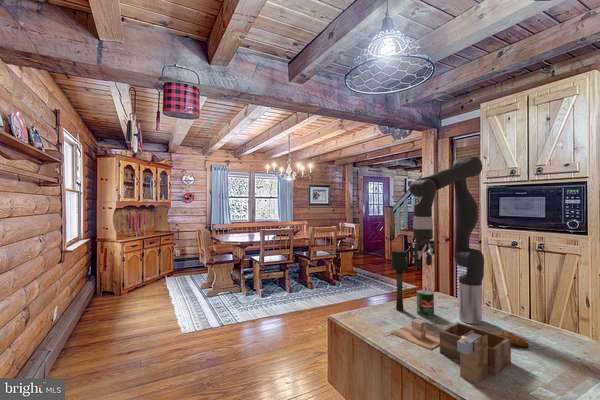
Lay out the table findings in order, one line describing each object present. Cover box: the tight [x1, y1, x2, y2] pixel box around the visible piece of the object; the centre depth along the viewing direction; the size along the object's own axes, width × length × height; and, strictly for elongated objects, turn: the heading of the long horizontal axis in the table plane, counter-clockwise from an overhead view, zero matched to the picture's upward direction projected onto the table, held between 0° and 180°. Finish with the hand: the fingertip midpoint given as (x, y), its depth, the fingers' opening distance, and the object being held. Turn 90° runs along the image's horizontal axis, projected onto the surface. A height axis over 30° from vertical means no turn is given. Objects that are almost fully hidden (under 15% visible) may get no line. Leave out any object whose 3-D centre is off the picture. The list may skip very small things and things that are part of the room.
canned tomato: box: [416, 288, 435, 318], centre depth 147 cm, size 8×8×11 cm
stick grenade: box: [390, 249, 409, 312], centre depth 153 cm, size 8×9×30 cm
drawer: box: [457, 332, 482, 355], centre depth 94 cm, size 10×3×4 cm, turn 126°
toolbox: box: [439, 321, 512, 384], centre depth 103 cm, size 22×18×12 cm
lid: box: [390, 318, 440, 351], centre depth 122 cm, size 13×18×7 cm
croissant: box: [490, 330, 530, 349], centre depth 117 cm, size 14×7×5 cm, turn 47°
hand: (423, 266), depth 125 cm, fingers open, 8 cm apart
